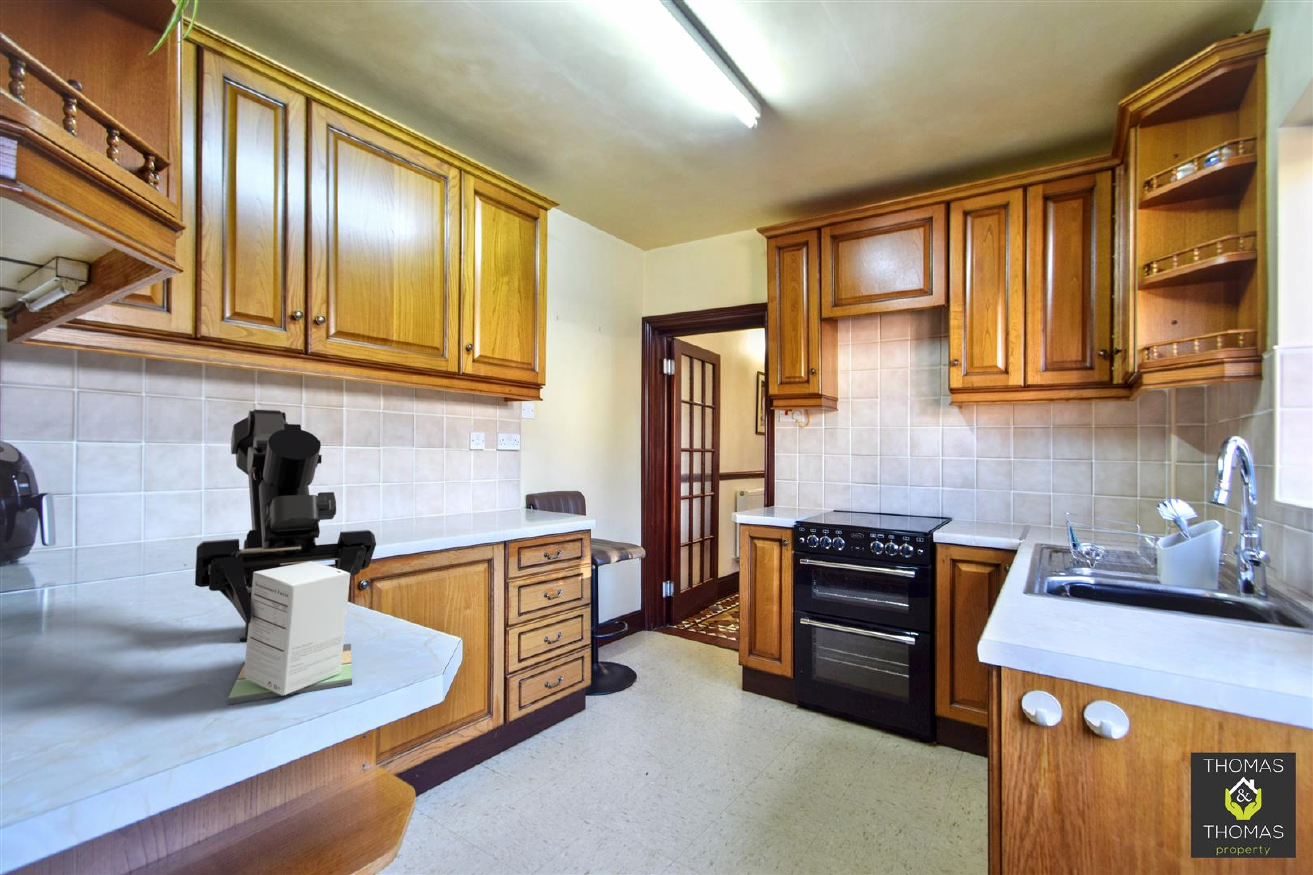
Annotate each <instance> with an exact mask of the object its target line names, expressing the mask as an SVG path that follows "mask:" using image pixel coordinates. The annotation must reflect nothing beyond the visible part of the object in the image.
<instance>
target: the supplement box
mask: <svg viewBox="0 0 1313 875" xmlns="http://www.w3.org/2000/svg"><path fill="white" fill-rule="evenodd" d="M350 580H351V577H350V573H348V572H346V571H343V570H340V569H337V568H336V567H332V566H330V565H326V564H322V563H320V562H317V561H316V562H312V561H310V562H305V563H300V564H294V565H289V566H284V567H278V568H273V569H267V570H262V571H256V572H253V583H252V594H251V604H250V606H251V622H250V623H249V627H248V637H247V641H246V650H245V659H244V661H245V662H244V664H245V669H244V677H245V678H246V679H248V680H250V681H252V682H254V683H256V684H258V685H260V686H262V687H264V688H266V689H269V690H271V691H273V692H275V693H277V694H280V695H283V696H282V697H285V696H287V695H286V694H289V693H291V692H294V691H296V690H299V689H301V688H304V687H306V686H309V685H311V684H314V683H317V682H319V681H322V680H324V679H327V678H330V677H332V676H335V675H337V674H340V673H341V665H342V654H343V645H344V644H345V642H344V641H345V632H346V620H347V612H348V611H347V610H348V601H349V593H350V588H349V587H350V582H351V581H350ZM284 695H285V696H284Z"/></svg>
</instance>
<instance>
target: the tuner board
mask: <svg viewBox="0 0 1313 875" xmlns="http://www.w3.org/2000/svg"><path fill="white" fill-rule="evenodd" d="M352 663H353V662H352V643H344V644H343V654H342V665H341V673H340V674H337V675H335V676H332V677H330V678H327V679H324V680H322V681H319V682H317V683H314V684H311V685H309V686H306V687H304V688H301V689H299V690H296V691H294V692H291V693H289V694H291V695H293V694H292V693H298V694H301V693H309V692H315V690H316V691H321V690H320V689H322V690H327V689H328V688H329V689H334V687H335V688H339V687H338V686H341V687H345V686H344V685H347V686H352V684H353V667H352ZM244 669H245V663H244V664H243V666H242V668H241V670H240V673H239V675H238V676H237V677H236V678H237V679H236V680H235V683H234V685H233V687H232V690H231V691H230V693H229V696H227V697H228V698H227V705H228V706H229V705H233V704H240V703H248V702H253V701H260V700H266V698H267V699H271V698H278V696H279V697H284V696H283V695H280V694H277V693H275V692H273V691H271V690H269V689H266V688H264V687H262V686H260V685H258V684H256V683H254V682H252V681H250V680H248V679H246V678H245V677H244ZM285 696H288V695H287V694H286V695H285Z"/></svg>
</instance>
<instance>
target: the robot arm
mask: <svg viewBox="0 0 1313 875" xmlns="http://www.w3.org/2000/svg"><path fill="white" fill-rule="evenodd" d="M286 418H287V416H286V412H284V411H282V410H275V409H274V410H273V409H259V408H258V409H256V408H254V409H252V410H248V415H247V417H244V418H243V419H241V420H239V421H237V422H236V423H235V424H233V426H232V427H233V428H232V432H231V437H230V438H231V439H230V441H231V442H230V454H231V455H235V464H236V467H237V469H239V470H241V472H243V473H245V474H246V475H247V476H248V488H249V489H248V490H249V501H250V503H249V504H250V517H251V520H250V521H251V529H250V530H249V531H248V533H247V534H246V539H245V540H244V541H243V548H242V549H241V548H240V539H239V538H232V539H231V538H230V539H216V540H203V541H202V542H200V543H199V544H198V545H197V546H196V555H195V568H194V570H195V571H194V573H195V574H194V575H195V577H194V585H195V586H197V587H200V588H207V587H208V589H209V591H212V592H217V591H218V592H220V593H221V594H222V595H224V597H225V598H226V599H227V600H228V601H229V602H230V603H231V604H232V605H233V607H234V608H235V610H236V611H237V613H238V614H239V616H240V617H241V619H242V620H243V621H244V622H243V623H245V625H244V626H245V627H244V628H243V630H242V631H241V633H240V635H239V638H238V641H239V642H244V641H245V642H247V637H248V627H249V623H250V622H251V606H250V604H251V594H252V583H253V572H256V571H262V570H267V569H273V568H278V567H284V566H289V565H294V564H300V563H305V562H310V561H312V562H316V563H317V562H326V561H334V566H335V568H337V569H340V570H343V571H346V572H348V573H350V578H351V577H352V576H356V575H359V574H360V572H361V571H362V570H363V571H364V570H365V569H367V568H369V567H370V565H371V561H372V559H373V555H374V552H375V549H376V547H377V542H376V536H375V533H373V532H372V531H371V530H369V529H364V530H362V529H360V530H349V531H348V530H347V531H340V532H339V536H338V539H337V542H336V543H327V544H326V543H324V544H322V543H321V544H317V542H316V539H318V538H319V537H320V533H321V531H320V522H321V521H326V520H328V521H329V520H333V519H334V517H335V516H336V514H337V500H336V495H335V492H334V491H328V492H326V491H324V492H323V491H321V492H318V493H317V495H316V494H310V488H309V486H310V485H311V484H312V483H313V481H314V478H315V473H316V469H317V468H318V464H322V454H320V451H321V448H322V446H321V444H322V443H321V440H320V439H318V438H317V436H315V435H314V434H312V433H311V432H309V431H306V430H305V429H304V430H303V429H302V426H301V424H298V423H297V424H295V423H293V424H292V423H288V422H287V419H286Z"/></svg>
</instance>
